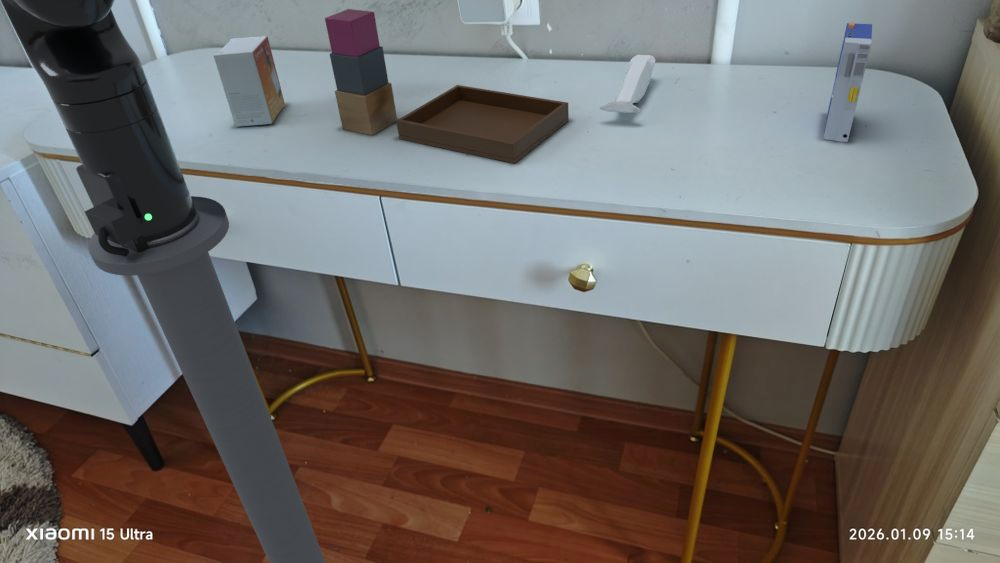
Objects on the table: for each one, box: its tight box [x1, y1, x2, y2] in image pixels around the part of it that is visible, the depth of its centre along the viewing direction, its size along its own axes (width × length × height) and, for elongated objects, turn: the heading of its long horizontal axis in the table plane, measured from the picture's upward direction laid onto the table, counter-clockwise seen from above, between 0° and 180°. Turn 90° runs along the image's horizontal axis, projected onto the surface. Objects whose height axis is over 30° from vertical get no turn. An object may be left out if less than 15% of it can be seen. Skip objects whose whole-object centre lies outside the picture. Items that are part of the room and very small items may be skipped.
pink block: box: [324, 8, 381, 57], centre depth 90 cm, size 4×4×4 cm
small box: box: [213, 35, 286, 128], centre depth 100 cm, size 8×6×10 cm
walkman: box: [823, 21, 873, 143], centre depth 82 cm, size 8×3×12 cm, turn 156°
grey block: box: [329, 45, 389, 95], centre depth 92 cm, size 5×5×5 cm
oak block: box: [334, 82, 398, 136], centre depth 95 cm, size 6×6×6 cm
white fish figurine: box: [598, 54, 656, 114], centre depth 97 cm, size 6×18×4 cm, turn 160°
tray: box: [395, 84, 570, 164], centre depth 92 cm, size 14×18×3 cm
